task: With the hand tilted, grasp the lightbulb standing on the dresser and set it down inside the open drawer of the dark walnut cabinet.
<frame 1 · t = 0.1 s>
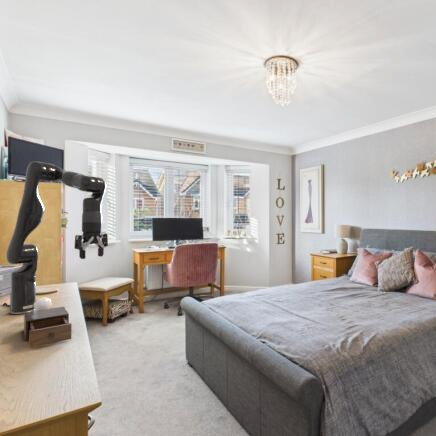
hand: (91, 257, 141), 29 cm above the dresser, tool pointing down, fingers open, 8 cm apart
drawer: (49, 331, 120), point 4 cm above the dresser, slide at 10.5 cm
cabinet: (46, 331, 130), on the dresser
lightbulb: (42, 322, 141), on the dresser
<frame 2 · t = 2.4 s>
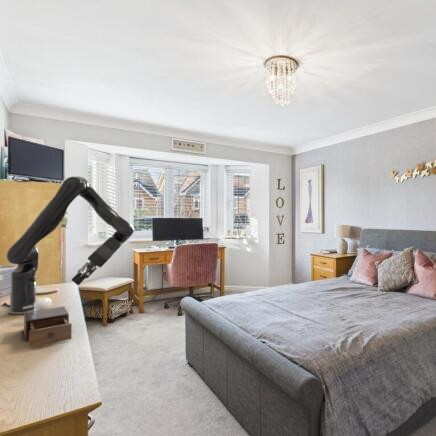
hand: (74, 282, 149), 16 cm above the dresser, tool tilted 45°, fingers open, 8 cm apart
nothing on the dresser moved.
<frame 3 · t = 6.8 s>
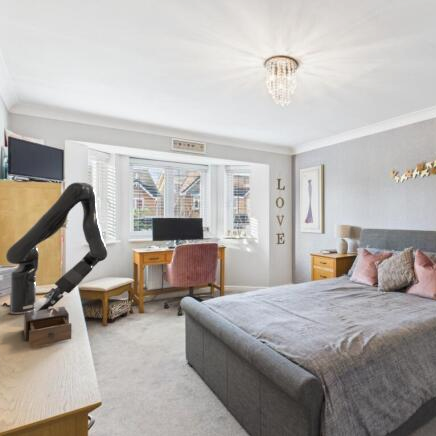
hand: (38, 310, 140), 5 cm above the dresser, tool tilted 45°, fingers closed on lightbulb, 6 cm apart
lightbulb: (42, 322, 141), on the dresser, touching gripper
everything else where it was.
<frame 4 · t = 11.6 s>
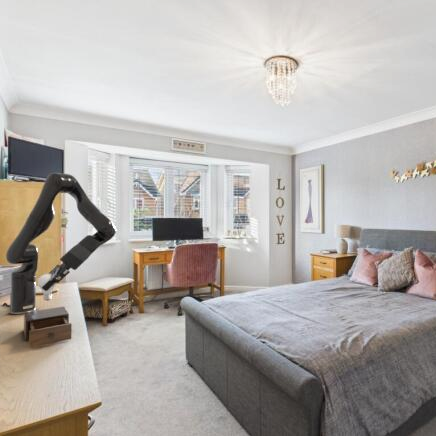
hand: (42, 288, 128), 18 cm above the dresser, tool tilted 45°, fingers closed on lightbulb, 6 cm apart
lightbulb: (47, 300, 129), point 13 cm above the dresser, touching gripper
everything else where it was.
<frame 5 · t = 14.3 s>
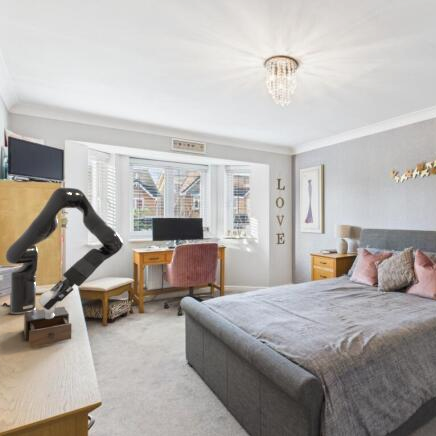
hand: (44, 306, 120), 13 cm above the dresser, tool tilted 45°, fingers closed on lightbulb, 6 cm apart
lightbulb: (49, 319, 121), point 8 cm above the dresser, touching gripper
everything else where it was.
when the fingers open (7 cm above the dresser, at t = 16.6 s): lightbulb stays where it is, resting on drawer.
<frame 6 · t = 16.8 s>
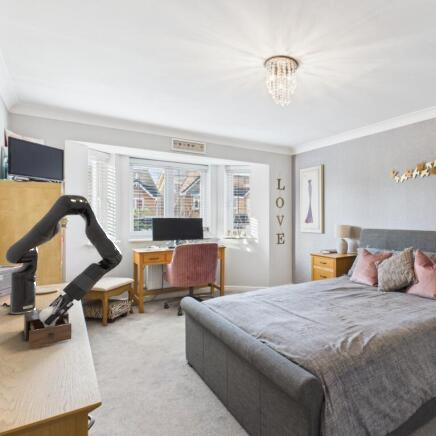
hand: (44, 321, 120), 8 cm above the dresser, tool tilted 45°, fingers open, 7 cm apart
drawer: (49, 331, 120), point 4 cm above the dresser, slide at 10.5 cm, touching lightbulb
lightbulb: (49, 335, 121), point 2 cm above the dresser, touching drawer
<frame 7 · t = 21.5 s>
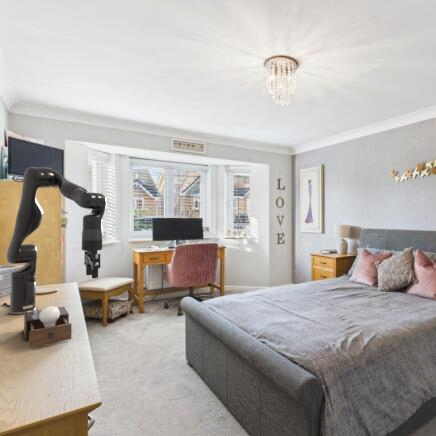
hand: (92, 276, 135), 22 cm above the dresser, tool pointing down, fingers open, 8 cm apart
nothing on the dresser moved.
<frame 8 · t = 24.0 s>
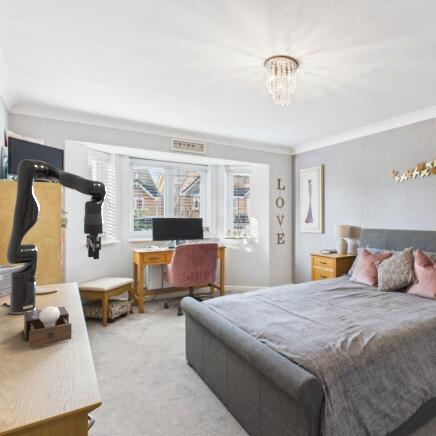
hand: (93, 258, 147), 28 cm above the dresser, tool pointing down, fingers open, 8 cm apart
nothing on the dresser moved.
at the end: lightbulb inside the target area in the drawer (0.3 cm from its centre), point 1.8 cm above the cabinet's base; lightbulb point 1.8 cm above the dresser; the gripper is holding nothing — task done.
